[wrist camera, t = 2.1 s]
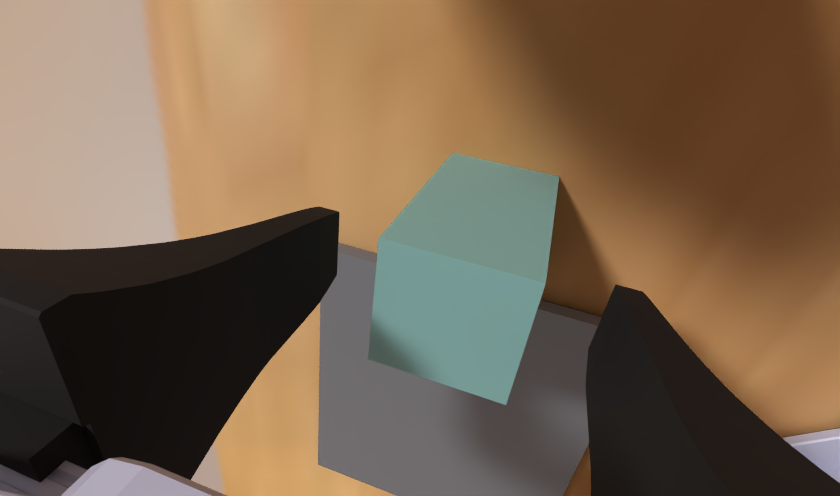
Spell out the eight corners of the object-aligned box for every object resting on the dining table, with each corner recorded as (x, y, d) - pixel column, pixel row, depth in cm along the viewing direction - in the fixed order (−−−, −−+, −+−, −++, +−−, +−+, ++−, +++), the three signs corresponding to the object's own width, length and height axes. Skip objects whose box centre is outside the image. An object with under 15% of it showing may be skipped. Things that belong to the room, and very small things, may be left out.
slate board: (536, 538, 23) (535, 550, 22) (323, 455, 25) (317, 464, 25) (639, 327, 16) (641, 338, 15) (328, 240, 18) (321, 246, 18)
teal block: (531, 268, 16) (505, 404, 10) (437, 243, 17) (367, 359, 11) (559, 176, 14) (546, 283, 9) (452, 153, 15) (379, 237, 9)
